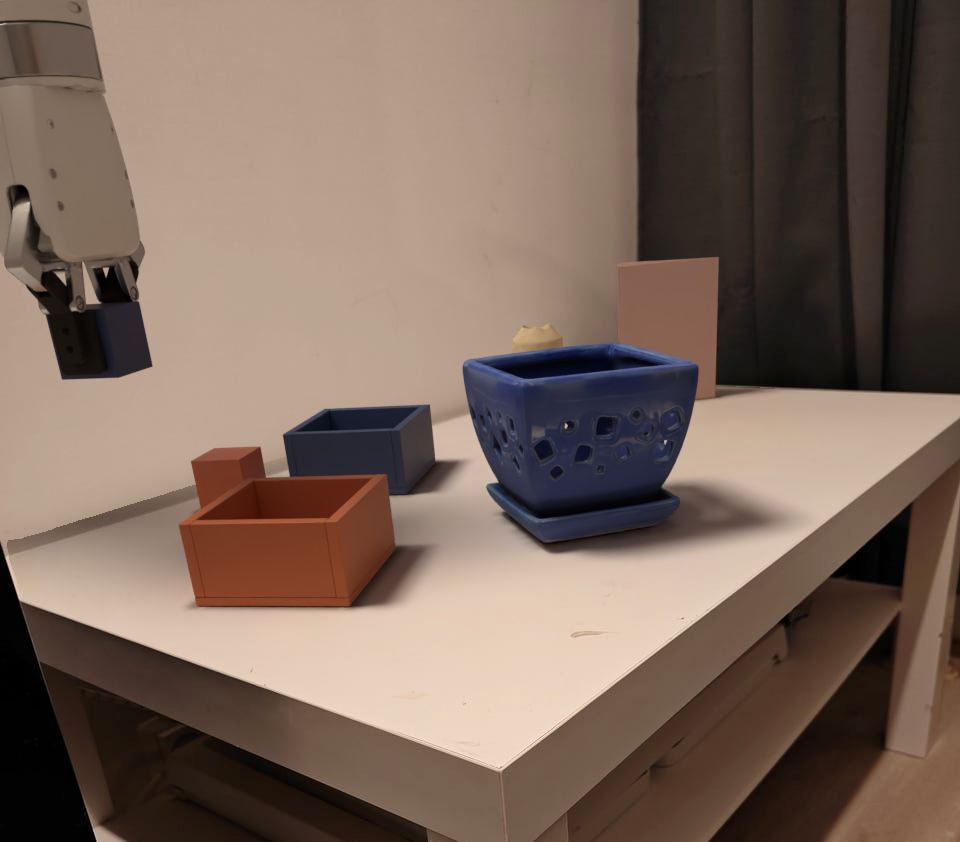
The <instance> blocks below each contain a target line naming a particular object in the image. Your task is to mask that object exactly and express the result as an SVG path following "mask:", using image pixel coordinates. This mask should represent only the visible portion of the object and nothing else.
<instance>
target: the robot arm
mask: <svg viewBox="0 0 960 842" xmlns="http://www.w3.org/2000/svg"><path fill="white" fill-rule="evenodd" d="M106 93H107V88H106V85H105V78H104V75H103V70H102V64H101V60H100V55H99V50H98V44H97V40H96V35H95V32H94V26H93V22H92V17H91V11H90V7H89V3H88V0H0V254H1V256H2V258H3V262H4V263H3V264H4V268H5V269H6V271H7V272H8V273H10V274H11V275H12V276H13V277H14V278H16V279H17V280H18V281H19V282H20V283H22V284H23V285H25V287H26V289H27V290H28V291H29V292H30V293H31V295H32V296H33V297H34V298H35V299H36V300H37V305H38V308H39V311H40V312H41V313H42V314H43V315H45V316H46V315H47V316H48V319H49V323H50V327H51V331H52V335H53V339H54V343H55V347H56V351H57V355H58V359H59V363H60V367H61V371H62V372H63V374H65V375H93V374H102V373H105V372H106V371H107V366H106V361H105V357H104V353H103V348H102V344H101V340H100V335H99V331H98V327H97V322H96V318H95V313H94V311H87V312H85V310H86V304H87V300H86V299H87V298H86V289H85V277H84V268H83V267H85V270H86V272H87V274H88V275H87V276H88V277H89V281H90V283H91V286H92V288H93V291H94V295H95V296H96V299H97V301H98V303H99V304H100V303H118V302H136V301H138V302H139V300H140V291H139V288H138V285H137V282H138V279H139V274H140V270H139V269H140V267H141V265H142V262H143V260H144V257H145V255H146V249H145V246H144V244H143V243H142V241H141V236H140V235H141V233H140V227H139V218H138V214H137V208H136V205H135V199H134V195H133V190H132V187H131V182H130V178H129V174H128V170H127V166H126V162H125V158H124V155H123V151H122V148H121V145H120V141H119V136H118V134H117V131H116V127H115V124H114V121H113V117H112V114H111V112H110V109H109V107H108V103H107V100H106V98H105V94H106ZM83 265H84V266H83ZM107 268H108V270H107V274H106V272H105V271H104V269H107ZM60 274H61V275H63V274H64V277H65V283H64V281H63V280H62V279H61V278H60V277H59V276H58V275H60Z"/></svg>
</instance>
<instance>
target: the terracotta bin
mask: <svg viewBox="0 0 960 842" xmlns="http://www.w3.org/2000/svg"><path fill="white" fill-rule="evenodd" d="M393 522H394V521H393V513H392V505H391V498H390V495H389V489H388V481H387V474H377V475H342V476H304V477H290V476H271V477H269V476H266V478H247V479H246V480H244V481H243V482H241V483H240V484H238V485H237V486H235V487H234V488H232V489H231V490H229V491H228V492H226V493H225V494H223V495H222V496H220V497H219V498H217V499H216V500H214V501H213V502H211V503H210V504H208V505H207V506H205V507H204V508H202V509H201V508H200V509H199V510H198V511H196V512H195V513H193V514H191V515H190V516H188V517H187V518H185V519H184V520H183V521H181V522H179V523H178V529H179V535H180V538H181V543H182V547H183V551H184V556H185V560H186V564H187V569H188V574H189V578H190V582H191V586H192V591H193V596H194V600H195V605H196V607H197V606H199V607H203V606H205V607H206V606H207V607H210V606H211V607H351V606H352V604H353V603H354V602H355V600H357V598H358V597H359V596H360V594H361V593H362V592H363V591H364V589H365V588H366V587H367V586H368V584H370V582H371V581H372V580H373V578H374V577H375V576H376V575H377V573H378V572H379V571H380V569H381V568H382V567H383V566H384V565H385V563H386V562H387V561H388V560H389V559H390V557H391V556H392V555H393V553H394V552H395V551H396V549H397V547H396V538H395V531H394V523H393Z"/></svg>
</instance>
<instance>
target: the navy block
mask: <svg viewBox="0 0 960 842" xmlns="http://www.w3.org/2000/svg"><path fill="white" fill-rule="evenodd" d="M87 311H94V313H95V318H96V322H97V327H98V331H99V335H100V340H101V344H102V348H103V353H104V357H105V361H106V366H107V371H106V372H105V373H102V374H93V375H65V374H63V372H62V371H61V367H60V363H59V359H58V355H57V351H56V347H55V343H54V339H53V335H52V331H51V327H50V323H49V319H48V316H47V315H45V318H46V323H47V326H48V328H49V329H48V330H49V334H50V337H51V341H52V346H53V350H54V354H55V357H56V361H57V366H58V370H59V374H60V377H61V378H60V379H61V380H63V381H66V380H67V381H68V380H90V379H91V380H95V379H119V378H123V377H126V376H128V375H132V374H134V373H138V372H141V371H144V370H146V369H150V368H152V367H154V365H153V361H152V355H151V351H150V348H149V347H150V346H149V342H148V337H147V332H146V327H145V323H144V318H143V313H142V309H141V303H140V301H139V300H138V301H136V302H118V303H100V302H99V303H86V310H85V312H87Z"/></svg>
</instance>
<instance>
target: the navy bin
mask: <svg viewBox="0 0 960 842" xmlns="http://www.w3.org/2000/svg"><path fill="white" fill-rule="evenodd" d="M433 431H434V430H433V421H432V411H431V404H409V405H408V404H407V405H384V406H383V405H382V406H360V407H337V408H335V407H333V408H323V409H322V410H321V411H319V412H317V413H315V414H314V415H312V416H310V417H309V418H307V419H305V420H304V421H302V422H300V423H299V424H298V425H296V426H294V427H292V428H291V429H289V430H287V431H286V432H284V433H283V434H282V439H283V445H284V451H285V456H286V463H287V468H288V474H289V477H304V476H342V475H377V474H387V481H388V489H389V496H392V495H408V494H409V492H411V490H412V489H413V488H415V486H416V485H417V484H418V483H419V482H420V481H421V479H422V478H423V477H424V476H425V475H426V474H427V473H428V472H429V471H430V470H431V468H432V467H433V466H434V465H435V464H436V463H437V461H436V452H435V440H434V432H433Z"/></svg>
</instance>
